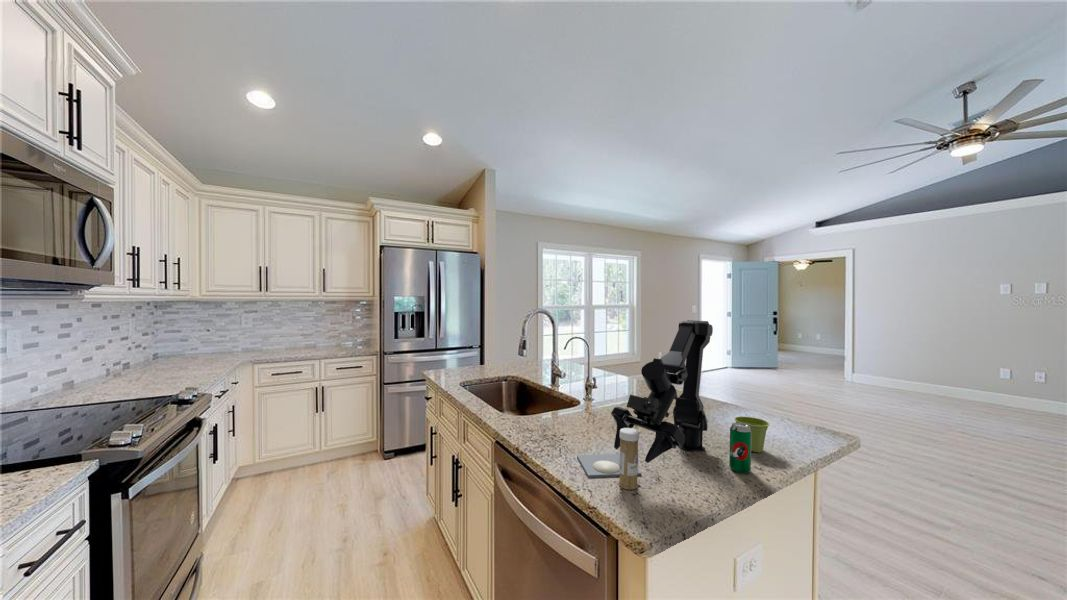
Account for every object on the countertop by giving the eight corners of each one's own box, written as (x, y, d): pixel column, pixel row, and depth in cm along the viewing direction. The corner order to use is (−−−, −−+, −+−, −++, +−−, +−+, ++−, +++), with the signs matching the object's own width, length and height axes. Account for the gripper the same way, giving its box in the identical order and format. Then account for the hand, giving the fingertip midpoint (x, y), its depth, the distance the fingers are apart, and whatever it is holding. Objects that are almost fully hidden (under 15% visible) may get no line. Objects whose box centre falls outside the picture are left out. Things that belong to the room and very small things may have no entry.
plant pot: (726, 445, 116) (727, 417, 116) (747, 441, 120) (747, 414, 120) (755, 457, 108) (755, 427, 108) (776, 452, 111) (776, 423, 111)
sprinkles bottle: (636, 492, 87) (638, 434, 87) (617, 488, 88) (618, 431, 88) (638, 483, 91) (639, 428, 91) (619, 479, 93) (621, 426, 93)
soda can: (755, 473, 97) (756, 428, 97) (738, 474, 96) (739, 429, 96) (741, 465, 102) (742, 421, 102) (724, 466, 101) (725, 422, 101)
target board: (624, 455, 107) (624, 452, 107) (641, 475, 95) (641, 472, 95) (577, 457, 105) (577, 454, 105) (588, 477, 93) (588, 474, 93)
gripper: (616, 376, 100) (586, 424, 93) (679, 390, 85) (649, 449, 78) (634, 401, 105) (606, 448, 98) (697, 419, 90) (669, 476, 83)
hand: (630, 454), depth 89 cm, fingers open, 9 cm apart
